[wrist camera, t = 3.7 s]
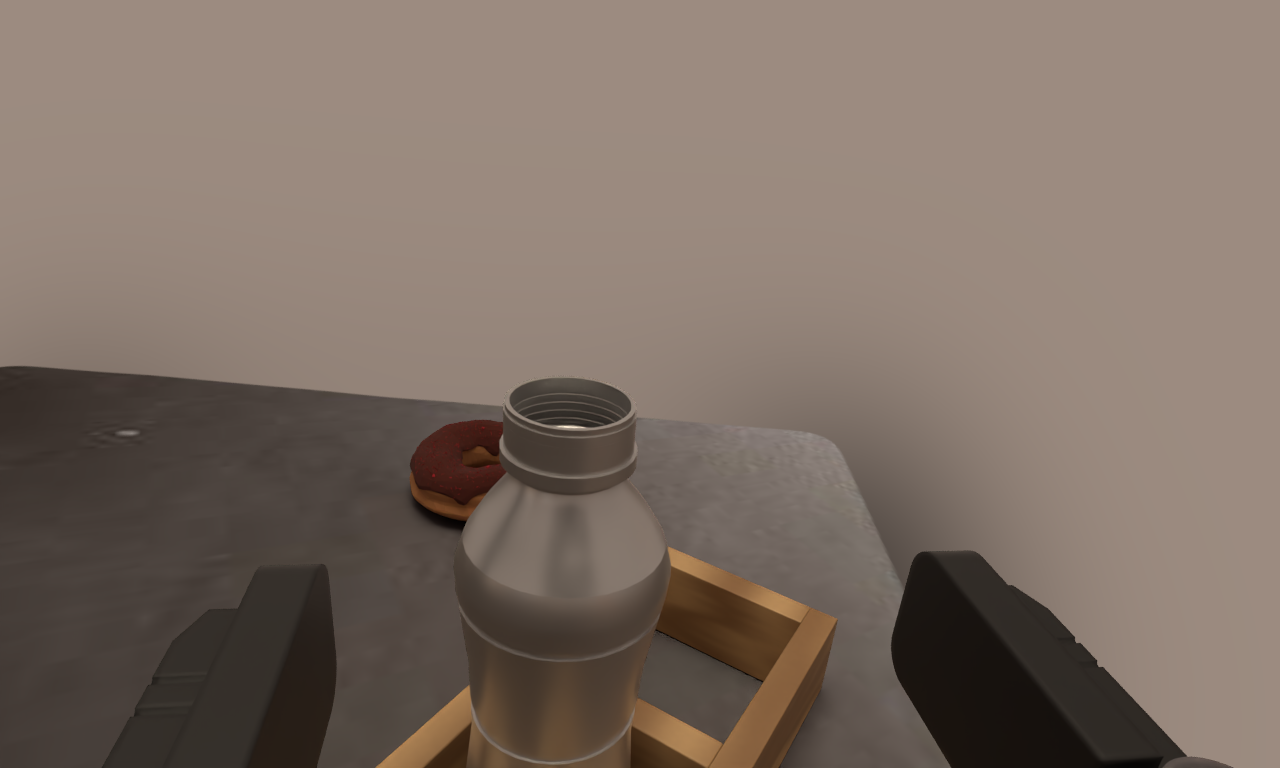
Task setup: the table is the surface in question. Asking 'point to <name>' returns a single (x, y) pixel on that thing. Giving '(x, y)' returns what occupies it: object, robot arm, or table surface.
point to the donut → (457, 467)
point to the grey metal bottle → (560, 582)
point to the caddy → (719, 626)
